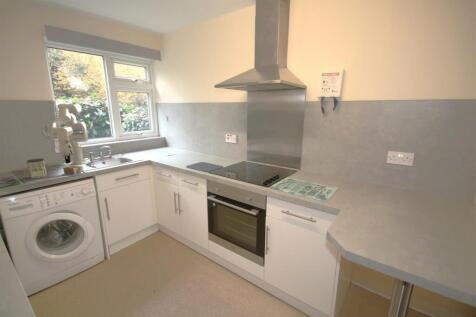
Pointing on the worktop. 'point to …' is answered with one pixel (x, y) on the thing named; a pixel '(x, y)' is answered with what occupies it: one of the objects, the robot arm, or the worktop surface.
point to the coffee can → (36, 168)
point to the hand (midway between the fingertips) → (68, 163)
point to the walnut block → (73, 169)
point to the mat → (73, 174)
